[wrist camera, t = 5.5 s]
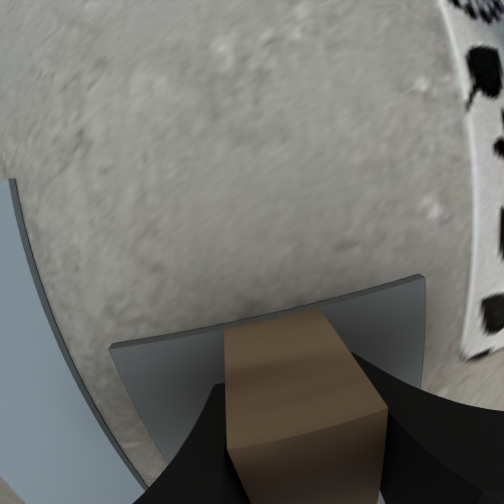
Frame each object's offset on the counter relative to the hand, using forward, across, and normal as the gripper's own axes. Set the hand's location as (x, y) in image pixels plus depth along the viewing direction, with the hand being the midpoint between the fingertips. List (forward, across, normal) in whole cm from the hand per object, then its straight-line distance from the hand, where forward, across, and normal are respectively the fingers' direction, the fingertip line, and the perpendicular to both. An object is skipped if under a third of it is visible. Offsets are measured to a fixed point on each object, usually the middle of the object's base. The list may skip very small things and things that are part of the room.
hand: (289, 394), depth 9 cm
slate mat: (+2, +13, 0) cm, 13 cm away
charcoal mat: (+2, 0, +7) cm, 7 cm away
